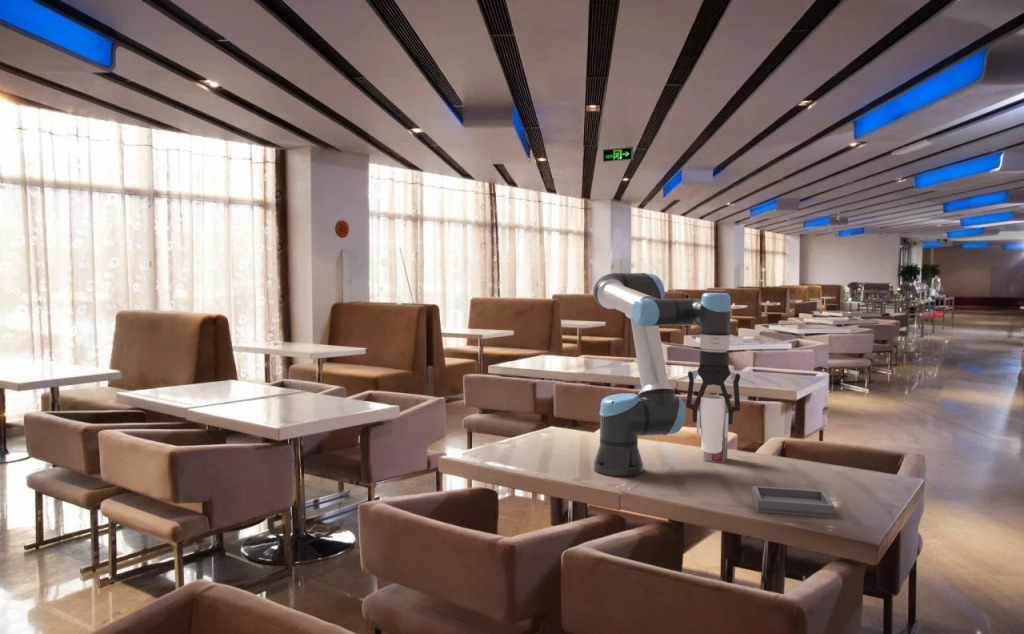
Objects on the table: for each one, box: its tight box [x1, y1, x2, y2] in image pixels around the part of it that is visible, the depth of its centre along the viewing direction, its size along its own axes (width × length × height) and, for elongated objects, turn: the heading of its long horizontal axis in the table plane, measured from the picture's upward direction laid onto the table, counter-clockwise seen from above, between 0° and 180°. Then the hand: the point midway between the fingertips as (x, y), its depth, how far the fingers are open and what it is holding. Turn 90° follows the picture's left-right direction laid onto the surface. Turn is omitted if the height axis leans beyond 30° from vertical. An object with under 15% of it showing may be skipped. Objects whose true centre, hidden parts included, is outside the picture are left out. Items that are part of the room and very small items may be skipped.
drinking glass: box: [699, 394, 726, 453], centre depth 189 cm, size 7×7×15 cm
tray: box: [752, 485, 835, 519], centre depth 183 cm, size 18×13×3 cm
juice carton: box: [703, 391, 729, 464], centre depth 231 cm, size 7×7×22 cm
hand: (711, 434), depth 189 cm, fingers closed on drinking glass, 7 cm apart
